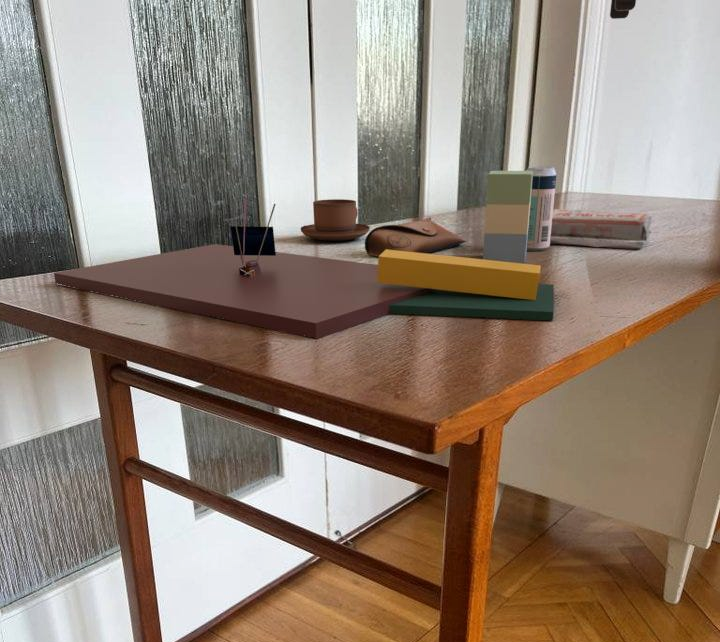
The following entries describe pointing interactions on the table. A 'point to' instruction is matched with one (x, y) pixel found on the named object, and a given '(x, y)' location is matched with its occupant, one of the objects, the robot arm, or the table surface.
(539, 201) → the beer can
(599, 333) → the table surface
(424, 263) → the bar
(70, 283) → the board
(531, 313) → the mat
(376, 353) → the table surface
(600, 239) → the packaged product
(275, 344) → the table surface
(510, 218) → the tower
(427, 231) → the sunglasses case
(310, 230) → the cup and saucer
